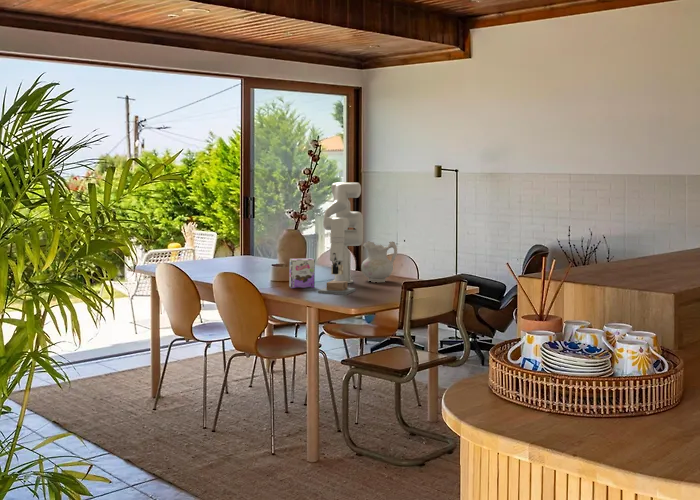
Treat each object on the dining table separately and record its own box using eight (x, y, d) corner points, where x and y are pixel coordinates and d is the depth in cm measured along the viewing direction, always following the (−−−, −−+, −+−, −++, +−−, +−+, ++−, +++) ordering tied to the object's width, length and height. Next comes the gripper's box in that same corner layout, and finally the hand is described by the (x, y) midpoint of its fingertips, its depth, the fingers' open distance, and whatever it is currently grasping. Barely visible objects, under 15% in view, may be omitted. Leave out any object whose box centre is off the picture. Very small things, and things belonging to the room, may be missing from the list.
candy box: (291, 288, 475) (291, 259, 474) (288, 287, 481) (289, 258, 479) (314, 287, 479) (315, 259, 477) (312, 286, 484) (312, 258, 483)
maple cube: (334, 273, 464) (334, 264, 464) (342, 273, 463) (343, 264, 462) (331, 274, 460) (331, 265, 459) (339, 274, 458) (340, 265, 458)
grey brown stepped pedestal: (328, 289, 472) (328, 279, 472) (355, 290, 467) (355, 281, 467) (318, 293, 457) (318, 283, 457) (346, 294, 452) (346, 284, 452)
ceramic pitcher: (397, 281, 518) (398, 241, 517) (396, 283, 498) (396, 241, 498) (362, 281, 520) (363, 240, 519) (360, 282, 500) (360, 240, 500)
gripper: (336, 239, 469) (336, 271, 470) (325, 241, 453) (325, 274, 454) (349, 239, 466) (348, 272, 468) (338, 241, 450) (338, 275, 452)
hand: (337, 273), depth 461 cm, fingers closed on maple cube, 5 cm apart
